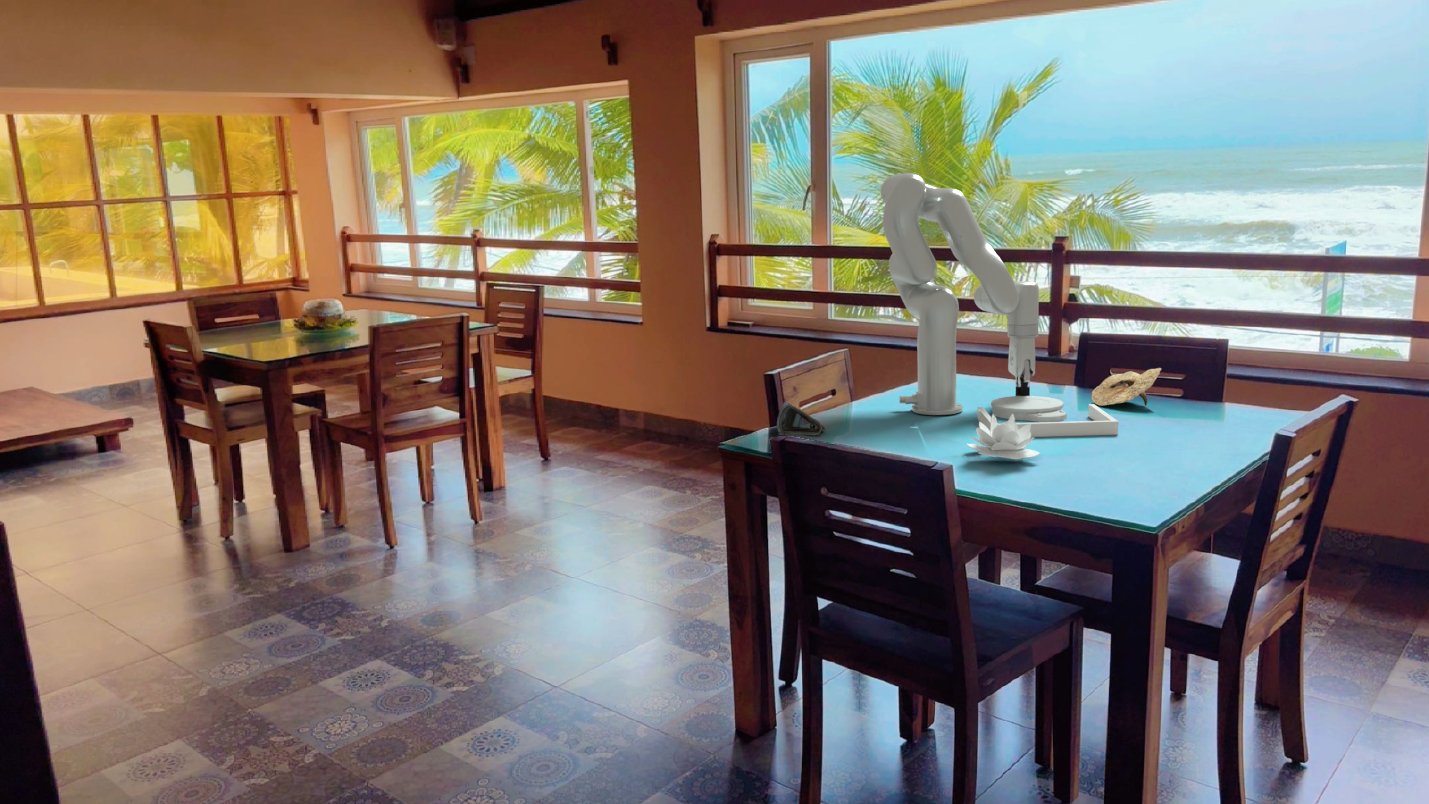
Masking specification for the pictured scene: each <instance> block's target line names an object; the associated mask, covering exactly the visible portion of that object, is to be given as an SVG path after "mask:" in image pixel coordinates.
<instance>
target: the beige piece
mask: <svg viewBox="0 0 1429 804" xmlns="http://www.w3.org/2000/svg"><path fill="white" fill-rule="evenodd" d="M1161 371H1162V368H1161V367H1157V368H1150V369H1147V370H1146V371H1144V372H1143V373H1141V374H1140V373H1138V372H1134V371H1126V372H1125V373H1117V374H1113V375H1109V376H1108V377H1107V378H1105V379H1104V380H1103V381H1102V382H1101V383H1100V384H1099V385H1098V386H1096V387H1095V388H1094V389H1093V390H1092V391H1091V400H1092V402H1094V404H1095V405H1098V406H1107V405H1108V406H1109V405H1115V404H1121V403H1122V404H1123V403H1126V402H1130V401H1132V400H1134V398H1136V397H1138V396H1139V397H1141V399H1142V400H1143V403H1144V406H1147V405H1148V402H1149V401H1148V400H1149V399H1148V397H1147V394H1146V391H1147V390H1148V389H1150V388H1151V387H1152V386H1153V385H1154V383H1155V381H1156V380H1157V378H1158V377H1159V375H1161V374H1160V372H1161Z"/></svg>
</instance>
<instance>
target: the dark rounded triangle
mask: <svg viewBox="0 0 1429 804" xmlns="http://www.w3.org/2000/svg"><path fill="white" fill-rule="evenodd" d="M776 420H777V421H776V427H777V432H778V433H786V434H787V433H788V434H792V435H793V434H794V435H801V436H803V435H806V436H817V435H819V434H821V431H826V428H825V426H824V425H823V424H822V423H821V422H820V421H819V420H817V419H816V418H813V417H812V416H810V415H808V413H807V412H805V411H804V410H802V409H799V408H798V407H796V406H794V405H792V404H791V403H789V402H787V401H784V402H783V404H782V408H781V409H780V411H779V412H778V416H777V419H776Z"/></svg>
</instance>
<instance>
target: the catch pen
mask: <svg viewBox="0 0 1429 804" xmlns="http://www.w3.org/2000/svg"><path fill="white" fill-rule="evenodd" d="M991 417H992V415H990V414H989V412H988V411H987V410H986V409H985V408H984V407H983V406H978V407H977V421H978V423H979V422H981V423H982V424H984V425H985V426H986V427H987V428H988V429H989V431H990V425H991ZM1088 418H1090V419H1091V420H1085V421H1084V420H1080V421H1078V420H1075V421H1058V422H1015V423H1016V425H1017V426H1018V429H1020V428H1022V427H1023V426H1025V425H1028V424H1031V428H1030V432H1031V438H1032V437H1034V438H1037V437H1039V438H1040V437H1041V438H1042V437H1043V438H1044V437H1046V438H1047V437H1079V436H1081V437H1083V436H1114V435H1115V436H1118V435H1119V420H1117V419H1115V417H1113V416H1112V415H1110V414H1108V413H1107V412H1106V411H1104V410H1103V409H1102V408H1100V407H1099V406H1097V404H1095V403H1088ZM1002 423H1003V422H1002ZM1002 423H997V424H998V425H1000V424H1002Z"/></svg>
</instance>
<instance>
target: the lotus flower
mask: <svg viewBox="0 0 1429 804" xmlns="http://www.w3.org/2000/svg"><path fill="white" fill-rule="evenodd" d="M1016 423H1017V422H1016V420H1015V419H1014V415H1013V414H1012V415H1011V416H1010V418H1009V419H1007V421H1005V422H1002V424H1001V423H998V420H997V416H995V415H993V413H992V414H991V425H990V431H989V429H988V428H987V427H986V426H985V425H984V424H982V423H981V422H979V421H978V426H977V427H976V429H975V430H976V433H977V435H978V439H977V438H976V437H974V436H971V435H969V437H970V438H971V439H972V440H974V442H975V441H976V442H977V443H978V444H974V443H966V446H968V447H969V448H971V449H973V450H975V451H977V454H979V455H983V456H988V457H998V458H1006V459H1011V460H1021V459H1031V458H1034V457H1036V456H1038V455H1041V453H1040V452H1039V451H1037V450H1034V449H1029V448H1026V447H1027V446H1028V445H1029V444H1030V443H1031V442H1032V441H1033V440H1034V439H1035V437H1031V432H1030V428H1031V424H1028V425H1025V426H1023V427H1022V428H1020V429H1018V426H1017V425H1016ZM998 424H1000V425H998ZM979 444H980V445H979Z"/></svg>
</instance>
